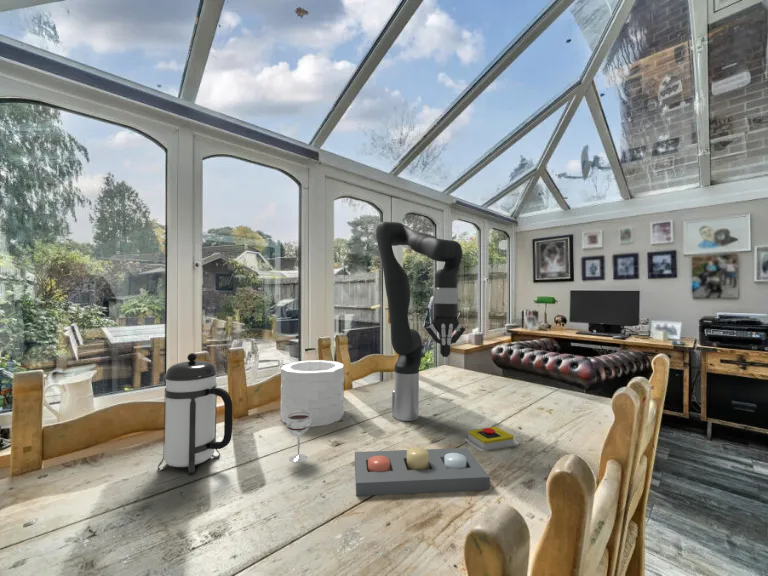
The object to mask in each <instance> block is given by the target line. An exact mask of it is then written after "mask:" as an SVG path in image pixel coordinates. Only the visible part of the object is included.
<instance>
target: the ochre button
mask: <svg viewBox="0 0 768 576" xmlns="http://www.w3.org/2000/svg"><path fill="white" fill-rule="evenodd" d="M406 450H407V470H427V469H428V459H429V452H428V451H427V450H426V448H423V447H421V446H420V447H419V446H414V447H409V448H408V449H406Z"/></svg>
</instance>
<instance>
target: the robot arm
mask: <svg viewBox="0 0 768 576" xmlns="http://www.w3.org/2000/svg"><path fill="white" fill-rule="evenodd" d="M375 237H376V242H377V247H378V251H379V255H380V260H381V263H382V265H381V266H382V270H383V271H382V272H383V277H384V279H383V280H384V285H385V293H386V297H387V298H386V299H387V305H388V313H389V320H390V341H391V346H392V348H393V351H394V352H395V354H398V359H397V361H396V362H395V364H394V389H393V390H392V393H391V396H392V397H391V399H392V400H391V417H393V418H394V419H395V420H398V421H402V422H411V421H416V420H418V419H419V408H420V407H419V404H420V403H419V402H420V401H419V400H420V399H419V397H420V396H419V393H420V385H419V384H420V383H419V381H420V366H421V362H422V349H423V348H422V337H421V334H420V333H419V332H418V331H417V330H416V329H413V328H410V323H409V322H410V321H409V308H410V303H411V289H410V288H411V287H410V281H409V280H410V279H409V277H408V274H407V272H406V271H405V269H404V268H403V267H402V265H401V264H400V263H399V261H398V260H397V258H396V256H395V253H394V250H393V247H395V246H397V247H398V246H409V248H411V250H412V251H414V252H416V253H418V254H421V255H424V256H426V257H428V258H429V259H430V260H433V261H436V262H442V263H443V262H444V265H443V267H442V268H441V269H438V270H436V271H435V274H434V292H433V299H432V300H433V320H432V322H431V324H430V325H429V326H426V327H425V330H426V332H427V333H428V334H429V335H430V337H431V338H432V340H433V341H434V342H435V343H437V344H439V349H440V350H439V352H440V355H441V357H442V358H448V357H449V356H450V354H451V345H453V344H456V343H457V342H458V340H459V339H460V338H461V337H462V335H463V334H464V332H465V331H466V328H465V327H464V326H462V325H460V322H459V320H458V308H459V307H458V303H459V302H458V300H459V299H458V273H459V271H460V267H461V266H460V265H461V264H462V263H461V262H462V259H463V248H462V246H461V244H460V243H459V242H458V241H455V240H451V239H441V238H437V237H436V236H434V235H432V234H428V233H424V232H420V231H416V230H414V229H412V228H410V227H409V226H407V225H405V224H403V223H401V222H399V221H380V222H379V223H378V224H377V226H376V230H375ZM435 330H436V332H437V333H438V336H439V337H438V336H437V334H436V333H435ZM454 332H455V333H454ZM453 333H454V334H453Z"/></svg>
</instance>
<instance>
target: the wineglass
mask: <svg viewBox="0 0 768 576" xmlns="http://www.w3.org/2000/svg"><path fill="white" fill-rule="evenodd" d="M310 416H311V414H310V413H308V412H294V413H291V414H289V415H287V418H288V420H287V423H286V428H287V431H289V432H290V434H291V435H292V434H293V435H294V436H296V439H297V442H296V443H297V454H294V455H291V456H290V457H289V461H290V462H292V463H302V462H305V461H306V460H307V459H308V456H307V455H306V454H303V453H302V454H301V453H300V447H301V445H300V444H301V436H302V435H303V434H305V433H307V432H308V430H309V429H310V428H311V427H310V425H311V419H310Z"/></svg>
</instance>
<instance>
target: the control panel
mask: <svg viewBox="0 0 768 576" xmlns="http://www.w3.org/2000/svg"><path fill="white" fill-rule="evenodd" d="M425 449H426V448H425ZM407 450H408V449H400V450H398V449H397V450H395V449H394V450H375V451H374V450H372V451H371V450H369V451H354V475H355V476H354V477H355V495H356V496H355V497H363V496H383V495H384V496H385V495H403V494H404V495H406V494H425V493H424V492H429V493H444V492H466V491H469V492H470V491H488V490H490V476H489V474H488V473H487V472H486V471H485V470H484V468H483V466H482V465H481V464H480V463H479V462H478V460H477V459H476V458H475V456H474V455H473V454H472V453H471V451H470V449H469V448H467V447H457V448H455V447H453V448H431V449H430V448H427V449H426V450H427V451H428V452H429V459H428V469H427V470H408V469H407ZM448 453H459V454H462V455H464V456H465V457H466V468H451V469H447V468H446V467H445V465H444V457H445V455H446V454H448ZM373 456H385V457H387V458H389V459H390V471H380V472H368V459H369V458H370V457H373Z"/></svg>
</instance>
